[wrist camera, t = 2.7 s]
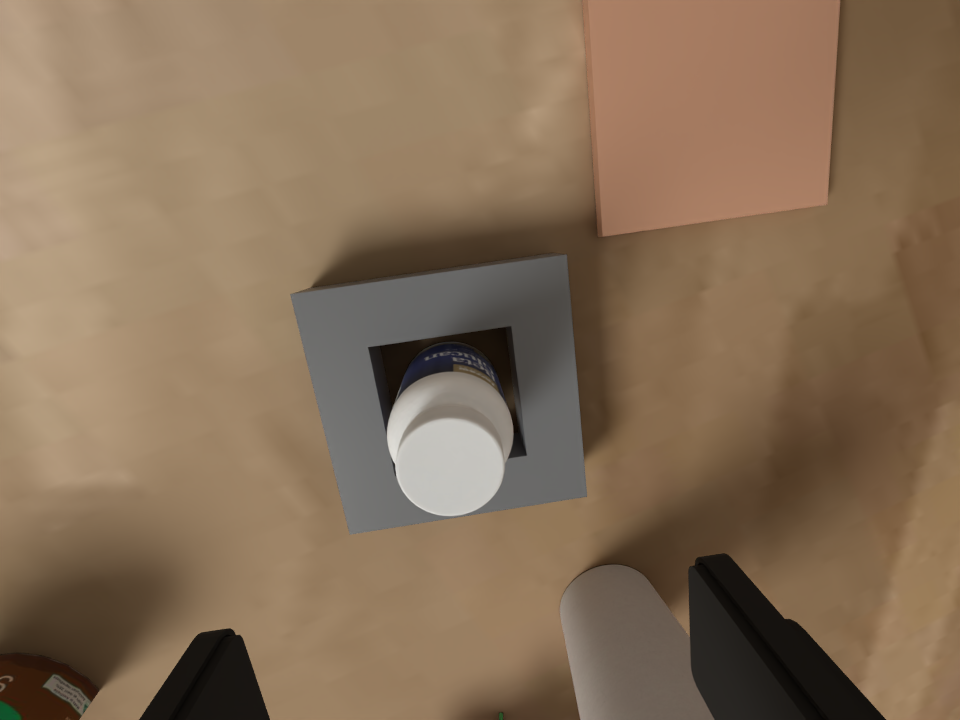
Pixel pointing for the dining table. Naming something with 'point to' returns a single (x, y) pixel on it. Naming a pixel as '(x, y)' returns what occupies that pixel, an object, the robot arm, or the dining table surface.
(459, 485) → the pill bottle
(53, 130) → the dining table surface
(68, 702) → the food container
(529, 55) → the dining table surface
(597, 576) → the coffee cup
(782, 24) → the terracotta tile
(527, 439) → the bottle holder
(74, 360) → the dining table surface
